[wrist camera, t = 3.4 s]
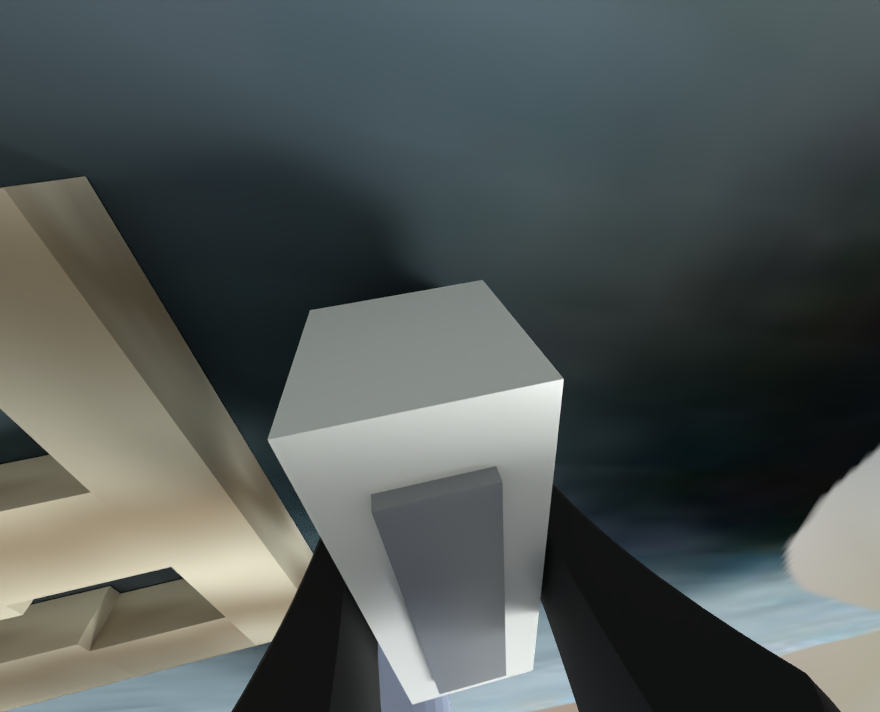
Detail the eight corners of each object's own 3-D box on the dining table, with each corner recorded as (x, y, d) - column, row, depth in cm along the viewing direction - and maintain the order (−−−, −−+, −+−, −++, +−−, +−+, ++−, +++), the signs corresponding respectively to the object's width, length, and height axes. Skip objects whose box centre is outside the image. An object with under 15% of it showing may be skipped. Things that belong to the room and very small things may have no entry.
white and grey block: (482, 511, 16) (536, 682, 11) (398, 531, 16) (413, 717, 11) (464, 257, 10) (575, 391, 5) (318, 282, 9) (261, 457, 4)
